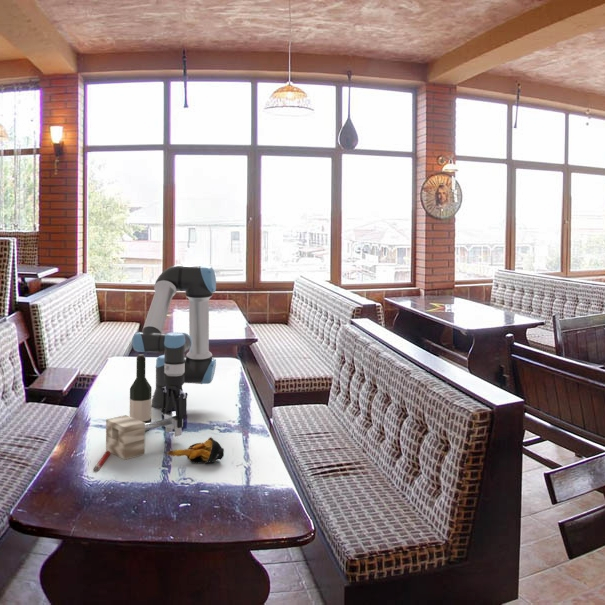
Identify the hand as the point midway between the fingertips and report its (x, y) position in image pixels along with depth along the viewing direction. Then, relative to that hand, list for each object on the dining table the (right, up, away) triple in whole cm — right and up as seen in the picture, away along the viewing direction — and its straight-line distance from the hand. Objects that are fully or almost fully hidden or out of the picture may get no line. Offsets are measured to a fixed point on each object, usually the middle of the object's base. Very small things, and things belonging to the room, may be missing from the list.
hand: (173, 433), depth 236 cm
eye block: (-14, -3, -15) cm, 21 cm away
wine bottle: (-16, -1, +11) cm, 19 cm away
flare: (-19, -5, -25) cm, 32 cm away
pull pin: (-7, +2, -8) cm, 11 cm away
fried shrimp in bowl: (+13, -5, -21) cm, 25 cm away
